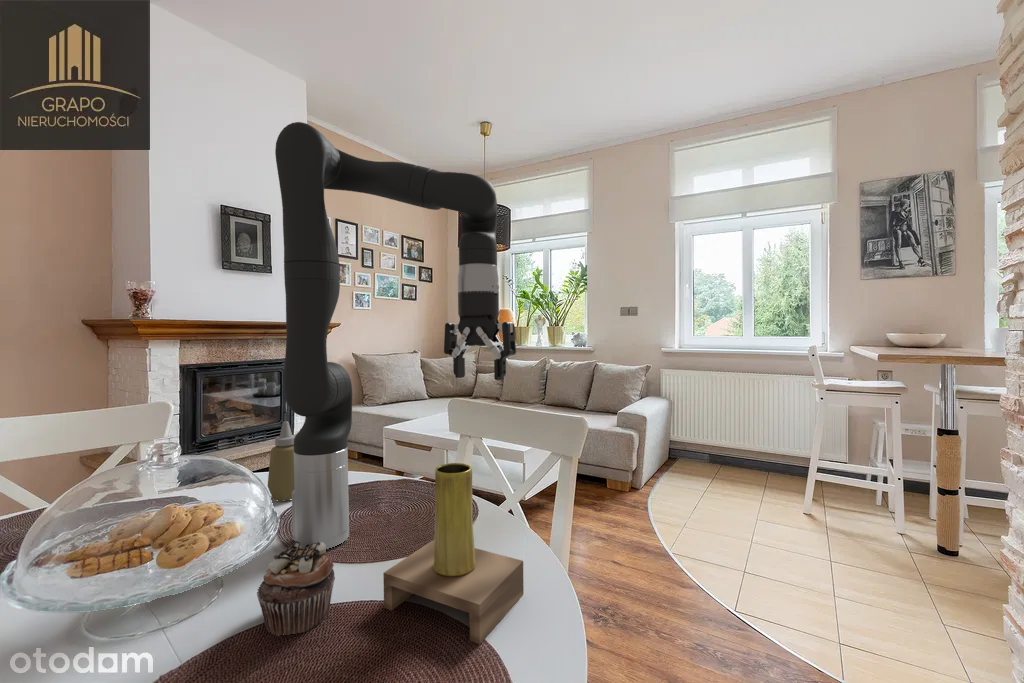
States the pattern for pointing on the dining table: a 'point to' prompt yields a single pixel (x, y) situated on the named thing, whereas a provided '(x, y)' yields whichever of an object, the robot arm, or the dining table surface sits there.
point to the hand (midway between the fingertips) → (479, 378)
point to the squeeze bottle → (282, 465)
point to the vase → (453, 520)
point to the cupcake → (297, 589)
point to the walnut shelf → (459, 587)
